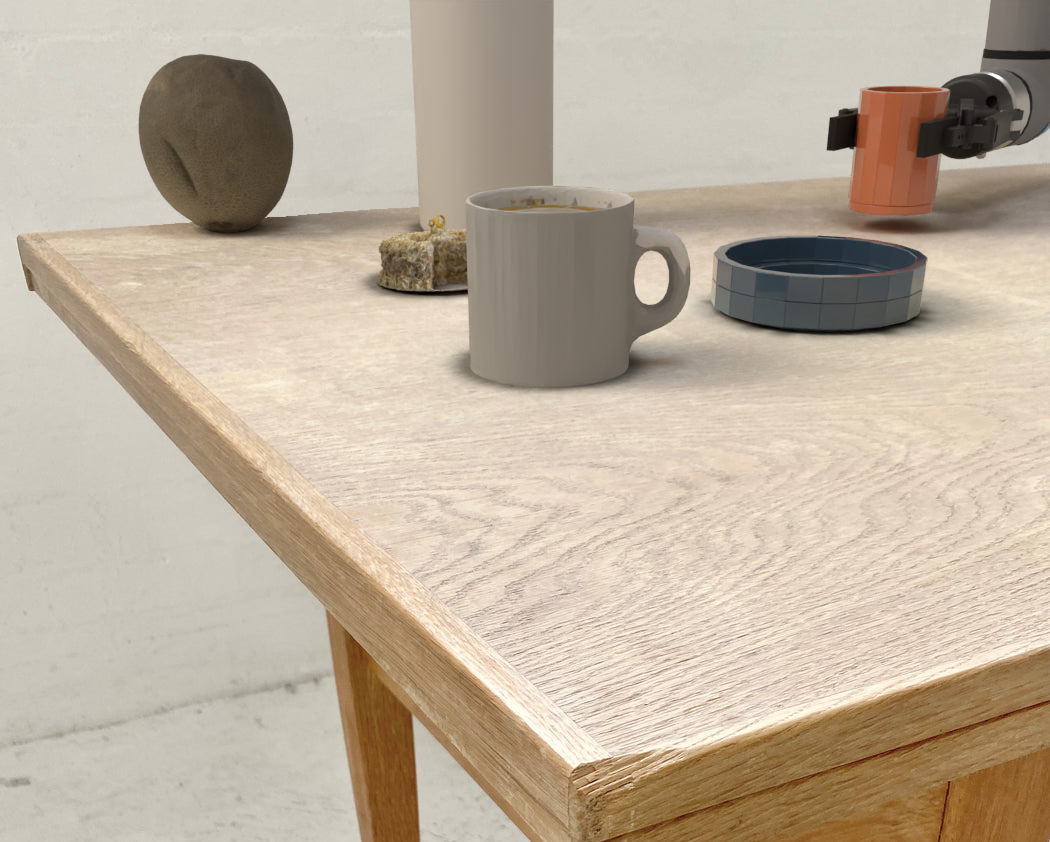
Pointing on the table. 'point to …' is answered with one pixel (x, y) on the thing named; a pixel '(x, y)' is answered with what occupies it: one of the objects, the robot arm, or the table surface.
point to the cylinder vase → (480, 100)
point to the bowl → (818, 282)
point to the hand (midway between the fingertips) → (876, 137)
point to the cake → (424, 259)
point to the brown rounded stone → (216, 140)
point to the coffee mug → (561, 284)
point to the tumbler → (895, 150)
